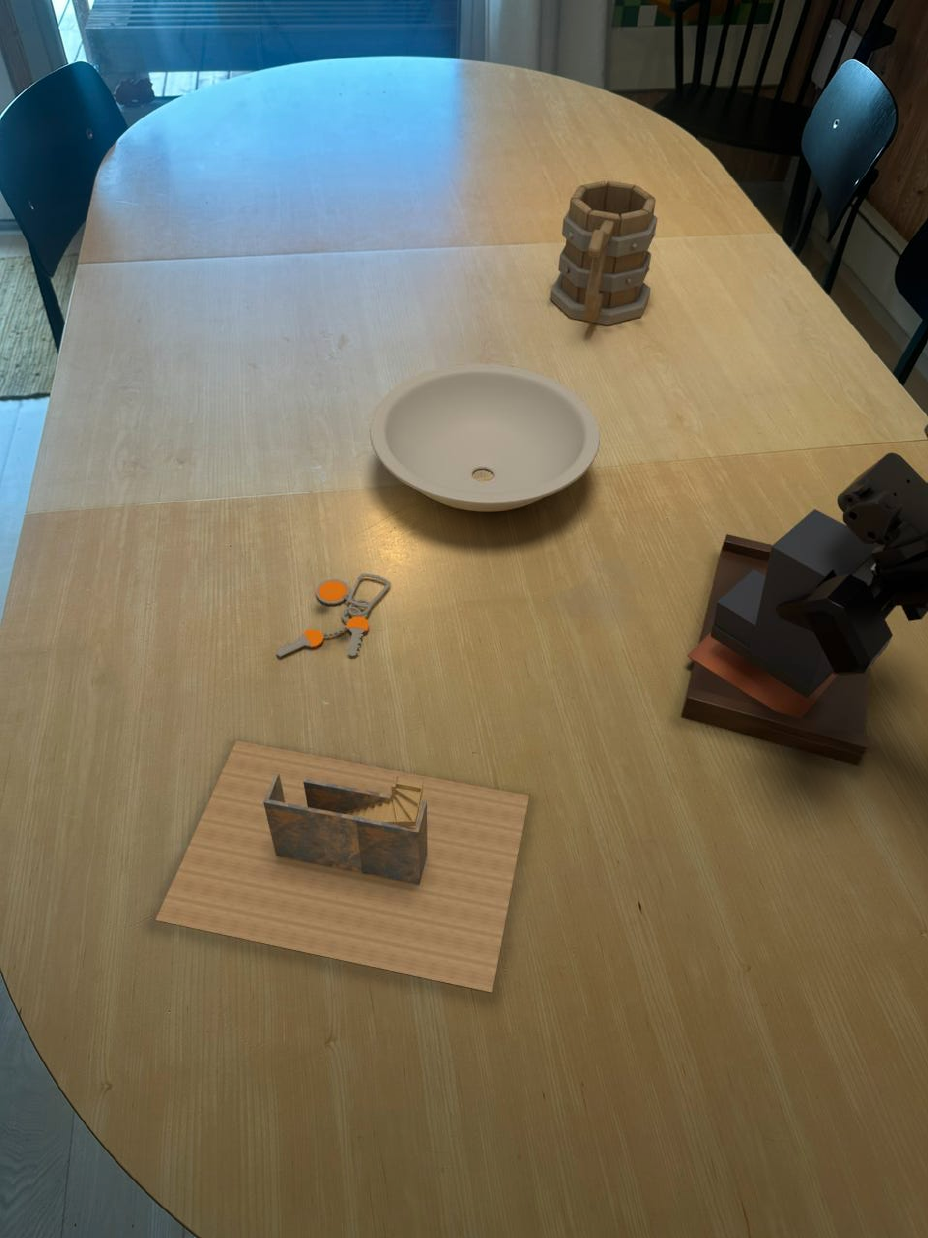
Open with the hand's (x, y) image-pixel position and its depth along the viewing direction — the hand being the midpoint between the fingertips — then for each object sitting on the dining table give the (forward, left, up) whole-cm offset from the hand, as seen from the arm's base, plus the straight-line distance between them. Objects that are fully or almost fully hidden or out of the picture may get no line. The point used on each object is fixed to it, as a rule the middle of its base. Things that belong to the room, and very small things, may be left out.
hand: (799, 590), depth 78 cm
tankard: (+30, -57, -12) cm, 65 cm away
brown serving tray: (-1, -5, -12) cm, 13 cm away
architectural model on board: (+28, +28, -12) cm, 42 cm away
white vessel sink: (+33, -19, -12) cm, 40 cm away
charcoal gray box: (0, -1, -8) cm, 8 cm away
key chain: (+39, +6, -12) cm, 41 cm away
